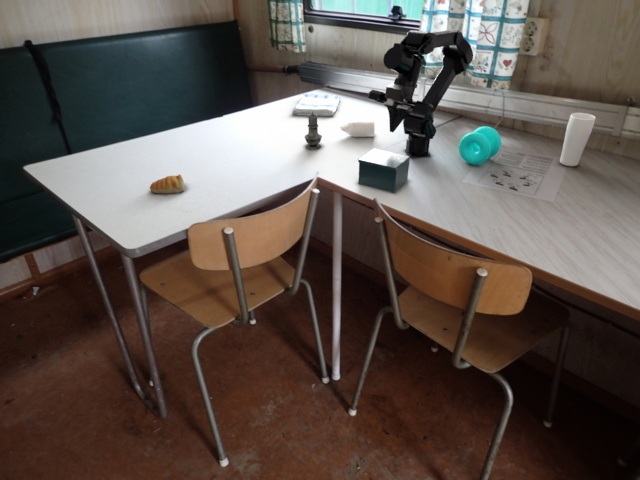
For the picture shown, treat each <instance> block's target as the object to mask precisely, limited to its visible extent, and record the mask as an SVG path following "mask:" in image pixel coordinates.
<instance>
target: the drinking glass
mask: <svg viewBox="0 0 640 480" xmlns="http://www.w3.org/2000/svg"><path fill="white" fill-rule="evenodd" d="M596 118H597V117H596V116H595V115H593V114H590V113H586V112H572V113H571V114H570V116H569V119H568V122H567V124H566V127H565V128H566V129H565V134H564V138H563V144H562V148H561V149H562V150H561V153H560V154H561V155H560V158H559V163H560V164H561V165H563V166H566V167H577V166H578V165H580V164H579V163H580V160H581V158H582V155H583V153H584V150H585V148H586V146H587V144H588V141H589V140H590V136H591V135H592V132H593V129H594V125H595V122H596Z"/></svg>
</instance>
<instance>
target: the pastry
mask: <svg viewBox="0 0 640 480" xmlns="http://www.w3.org/2000/svg"><path fill="white" fill-rule="evenodd" d="M149 190H150V191H151V192H152V193H154V194H159V195H160V194H164V195H165V194H174V193H176V194H179V193H182V192H184V191H185V181H184V178H183V176H182V174H180V173H179V174H178V175H166V176H165V177H163V178H160V179H157V180H155V181H154V182H152V183H151V184H150V185H149Z"/></svg>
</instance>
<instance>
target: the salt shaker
mask: <svg viewBox="0 0 640 480" xmlns="http://www.w3.org/2000/svg"><path fill="white" fill-rule="evenodd" d="M307 127H308V133H307V134H305V135H304V139H305V142H306V145H305V148H306V149H307V150H319V149H321V148H322V144H320V143H321V141H322V137H323V136H322V134H320V133H319V131H318V130H319V129H318V128H319V124H318V115H314V114H313V112H312V114H311V115H308V124H307Z"/></svg>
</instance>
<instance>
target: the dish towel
mask: <svg viewBox="0 0 640 480" xmlns="http://www.w3.org/2000/svg"><path fill="white" fill-rule="evenodd" d="M340 100H341V96H339V95H334V94H308V93H303V94H302V96H301V98H300V100H299V101H298V102H297V103H296V105H295V107H294V108H293V109H292V111H291V113H292V114H294V115H296V116H309V115H311V114H312V112H313V114H314V115H316V116H321V117H322V116H323V117H324V116H326V117H329V116H330V117H331V116H334V114H335V113H336V111H337V109H338V106H339V104H340Z"/></svg>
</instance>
